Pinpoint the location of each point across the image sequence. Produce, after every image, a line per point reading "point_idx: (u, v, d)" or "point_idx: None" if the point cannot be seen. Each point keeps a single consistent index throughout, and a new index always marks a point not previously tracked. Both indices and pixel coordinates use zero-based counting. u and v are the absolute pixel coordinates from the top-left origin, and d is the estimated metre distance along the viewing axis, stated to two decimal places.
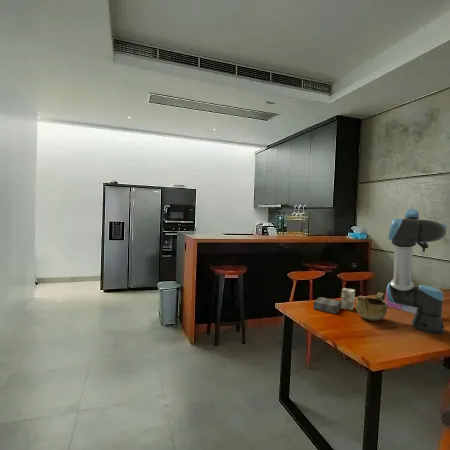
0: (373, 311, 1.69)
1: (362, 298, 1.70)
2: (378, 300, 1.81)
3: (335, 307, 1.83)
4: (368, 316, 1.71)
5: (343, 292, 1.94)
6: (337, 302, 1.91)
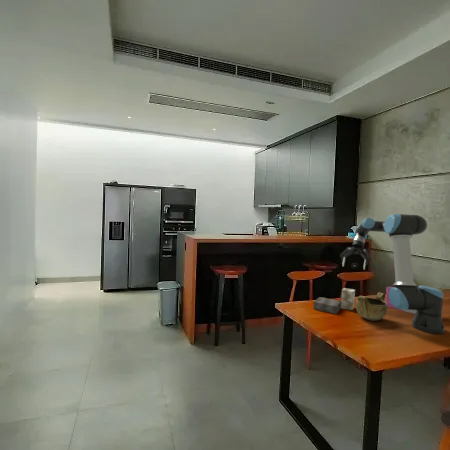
0: (373, 311, 1.69)
1: (362, 298, 1.70)
2: (378, 300, 1.81)
3: (335, 307, 1.83)
4: (368, 316, 1.71)
5: (343, 292, 1.94)
6: (337, 302, 1.91)
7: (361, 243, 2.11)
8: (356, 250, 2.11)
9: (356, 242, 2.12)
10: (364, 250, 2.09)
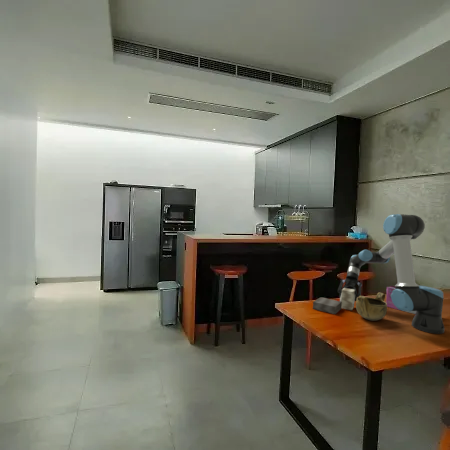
0: (373, 311, 1.69)
1: (362, 298, 1.70)
2: (378, 300, 1.81)
3: (334, 307, 1.83)
4: (368, 316, 1.71)
5: (343, 292, 1.94)
6: (337, 303, 1.90)
7: (356, 275, 2.02)
8: (350, 282, 2.01)
9: (350, 274, 2.03)
10: (358, 283, 1.99)
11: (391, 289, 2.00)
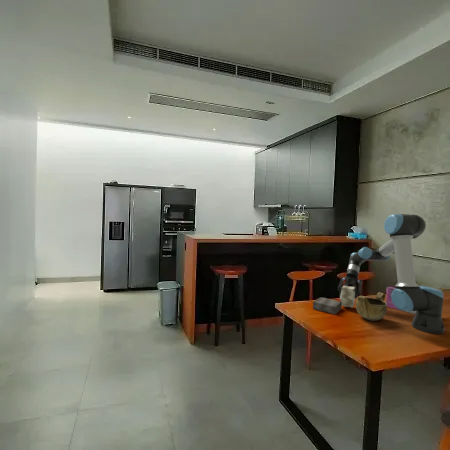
0: (373, 311, 1.69)
1: (362, 298, 1.70)
2: (378, 300, 1.81)
3: (334, 307, 1.83)
4: (368, 316, 1.71)
5: (343, 289, 1.94)
6: (337, 302, 1.90)
7: (355, 272, 2.02)
8: (350, 280, 2.01)
9: (350, 271, 2.03)
10: (358, 281, 1.99)
11: (391, 289, 2.00)
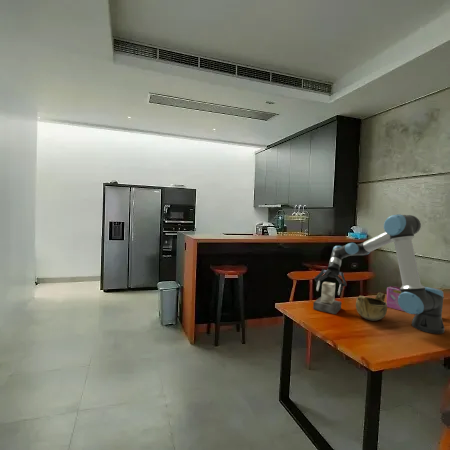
0: (373, 311, 1.69)
1: (362, 298, 1.70)
2: (378, 300, 1.81)
3: (335, 308, 1.83)
4: (368, 316, 1.71)
5: (323, 285, 1.90)
6: (337, 303, 1.91)
7: (337, 266, 1.98)
8: (331, 273, 1.97)
9: (332, 264, 1.99)
10: (340, 273, 1.96)
11: (392, 289, 1.99)
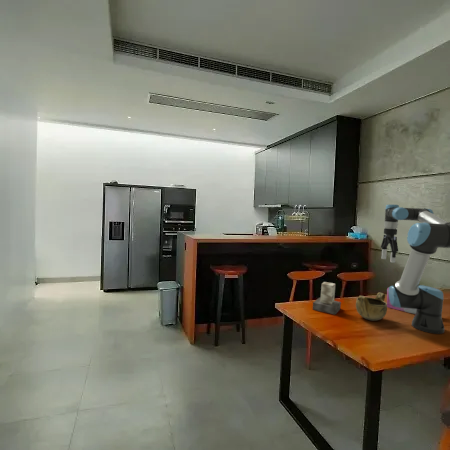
0: (373, 311, 1.69)
1: (362, 298, 1.70)
2: (378, 300, 1.81)
3: (334, 308, 1.82)
4: (368, 316, 1.71)
5: (323, 286, 1.90)
6: (336, 303, 1.90)
7: (387, 231, 1.90)
8: None
9: (384, 231, 1.94)
10: None
11: None
